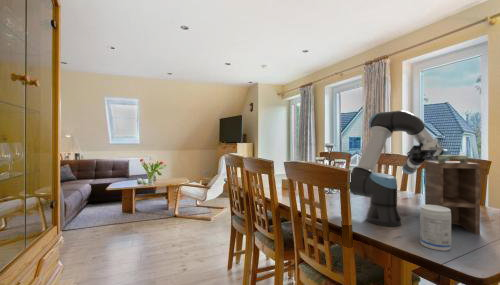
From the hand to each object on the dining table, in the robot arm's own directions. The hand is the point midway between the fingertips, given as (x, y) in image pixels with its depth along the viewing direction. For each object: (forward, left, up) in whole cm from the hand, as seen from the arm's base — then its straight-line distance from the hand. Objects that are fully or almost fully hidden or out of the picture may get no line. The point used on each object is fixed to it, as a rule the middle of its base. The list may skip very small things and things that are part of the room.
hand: (430, 141), depth 133 cm
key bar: (0, -2, -5) cm, 5 cm away
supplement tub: (-16, -44, -40) cm, 62 cm away
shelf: (0, -19, -40) cm, 44 cm away
